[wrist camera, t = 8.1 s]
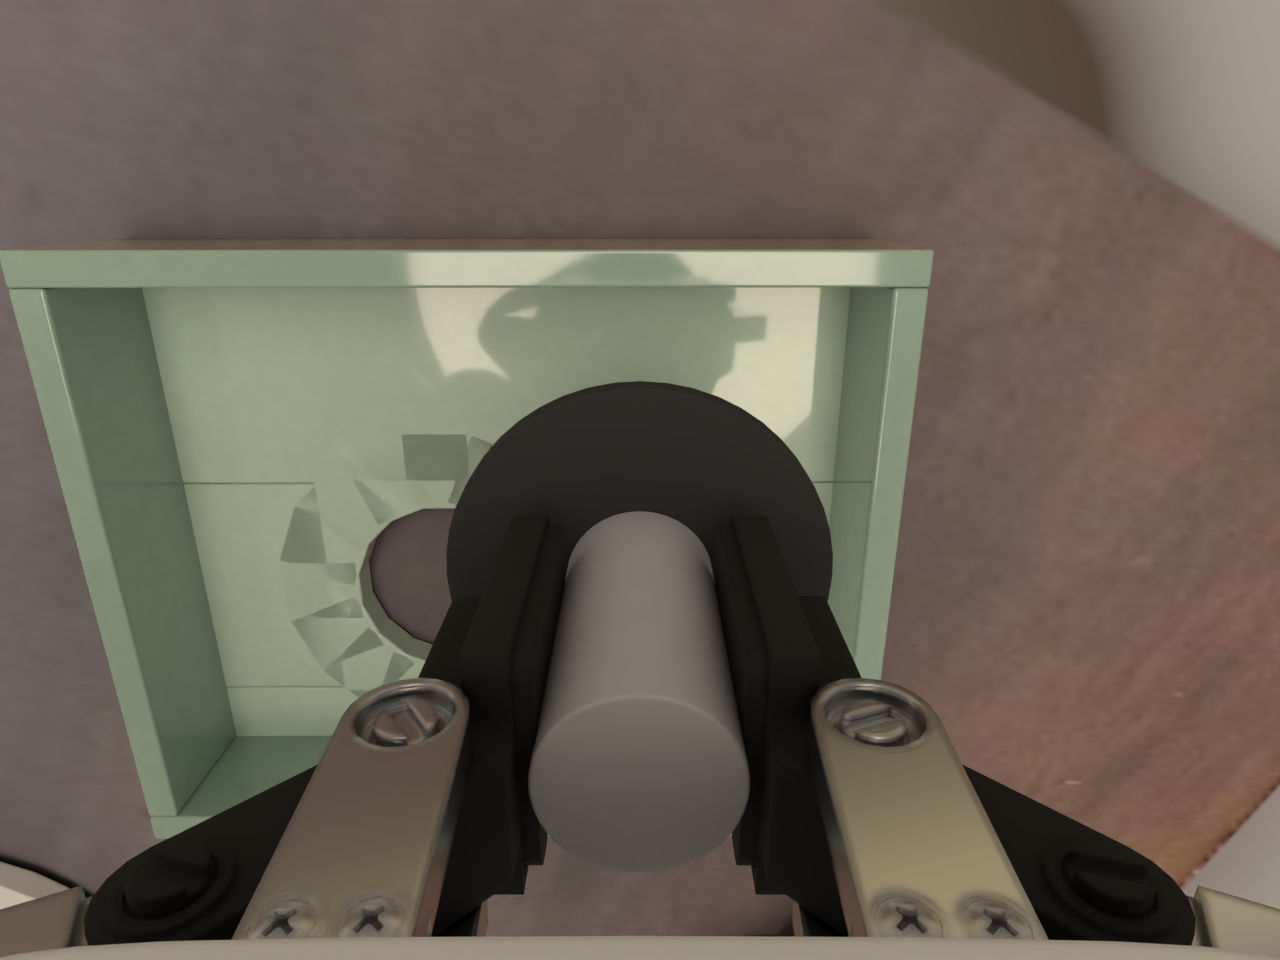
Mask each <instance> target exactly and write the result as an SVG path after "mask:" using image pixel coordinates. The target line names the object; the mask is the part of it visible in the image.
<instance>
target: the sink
mask: <svg viewBox="0 0 1280 960" xmlns="http://www.w3.org/2000/svg"><path fill="white" fill-rule="evenodd" d="M302 239H470V238H302ZM873 239H874V238H873ZM933 254H934V252H933V250H931V249H927V248H922V247H916V246H911V245H906V244H901V243H895V242H890V241H885V240H880V239H878V240H164V239H163V240H145V239H144V240H133V239H132V240H121V239H120V240H119V239H117V240H116V239H115V240H104V241H93V242H81V243H70V244H59V245H48V246H37V247H26V248H15V249H3V250H0V263H1V267H2V270H3V274H4V278H5V281H6V285H7V287H9V288H12V289H10V290H9V295H10V298H11V302H12V306H13V309H14V313H15V317H16V321H17V324H18V328H19V332H20V335H21V339H22V343H23V347H24V350H25V354H26V358H27V362H28V365H29V369H30V373H31V376H32V380H33V384H34V388H35V391H36V395H37V399H38V403H39V406H40V410H41V414H42V417H43V421H44V425H45V429H46V432H47V436H48V440H49V444H50V447H51V451H52V455H53V458H54V462H55V466H56V470H57V473H58V477H59V481H60V484H61V488H62V492H63V496H64V499H65V503H66V507H67V511H68V514H69V518H70V522H71V525H72V529H73V533H74V537H75V540H76V544H77V548H78V552H79V555H80V559H81V563H82V566H83V570H84V574H85V578H86V581H87V585H88V589H89V593H90V596H91V600H92V604H93V607H94V611H95V615H96V619H97V622H98V626H99V630H100V633H101V637H102V641H103V645H104V648H105V652H106V656H107V660H108V663H109V667H110V671H111V674H112V678H113V682H114V686H115V689H116V693H117V697H118V701H119V704H120V708H121V712H122V715H123V719H124V723H125V727H126V730H127V734H128V738H129V742H130V745H131V749H132V753H133V756H134V760H135V764H136V768H137V771H138V775H139V779H140V782H141V786H142V790H143V794H144V797H145V801H146V805H147V809H148V812H149V815H150V816H151V818H150V820H151V824H152V828H153V831H154V835H155V838H157V839H169V838H171V837H173V836H175V835H177V834H179V833H181V832H183V831H185V830H187V829H189V828H191V827H193V826H195V825H197V824H199V823H201V822H203V821H205V820H207V819H209V818H211V817H213V816H215V815H217V814H219V813H221V812H223V811H225V810H227V809H229V808H231V807H233V806H235V805H237V804H239V803H241V802H243V801H245V800H247V799H249V798H251V797H253V796H255V795H257V794H259V793H261V792H263V791H265V790H267V789H269V788H271V787H273V786H275V785H277V784H279V783H281V782H283V781H285V780H287V779H289V778H291V777H293V776H295V775H297V774H299V773H301V772H303V771H305V770H308V769H310V768H312V767H314V766H316V765H318V763H319V761H320V759H321V757H322V755H323V753H324V751H325V749H326V747H327V745H328V743H329V741H330V739H331V737H332V736H236V730H235V725H234V721H233V716H232V711H231V706H230V702H229V697H228V692H227V688H228V687H227V686H226V683H225V678H224V673H223V668H222V664H221V659H220V654H219V650H218V645H217V640H216V635H215V631H214V626H213V621H212V616H211V612H210V607H209V602H208V598H207V593H206V588H205V583H204V579H203V574H202V569H201V564H200V560H199V555H198V550H197V546H196V541H195V536H194V531H193V527H192V522H191V517H190V512H189V508H188V503H187V498H186V494H185V489H184V485H185V483H184V482H183V479H182V475H181V470H180V465H179V460H178V456H177V451H176V446H175V441H174V437H173V432H172V427H171V423H170V418H169V413H168V408H167V404H166V399H165V394H164V389H163V385H162V380H161V375H160V371H159V366H158V361H157V356H156V352H155V347H154V342H153V337H152V333H151V328H150V323H149V319H148V314H147V309H146V304H145V300H144V295H143V290H142V288H851V289H850V300H849V312H848V323H847V334H846V345H845V356H844V368H843V379H842V390H841V401H840V412H839V423H838V435H837V446H836V457H835V468H834V479H833V491H832V502H831V513H830V524H829V528H830V533H831V542H832V550H833V570H832V581H831V587H830V592H829V598H828V601H827V602H828V604H829V607H830V609H831V611H832V613H833V615H834V618H835V620H836V622H837V624H838V626H839V629H840V631H841V633H842V635H843V638H844V640H845V642H846V644H847V646H848V649H849V651H850V653H851V655H852V657H853V660H854V662H855V664H856V666H857V669H858V671H859V673H860V675H861V677H862V678H867V679H876V680H881V674H882V666H883V658H884V650H885V641H886V633H887V625H888V617H889V609H890V601H891V592H892V584H893V576H894V568H895V560H896V552H897V544H898V535H899V527H900V519H901V511H902V503H903V495H904V486H905V478H906V470H907V462H908V454H909V446H910V438H911V429H912V421H913V413H914V405H915V397H916V389H917V380H918V372H919V364H920V356H921V348H922V340H923V332H924V323H925V315H926V307H927V299H928V289H927V288H925V287H929V285H930V279H931V271H932V262H933ZM729 836H732V833H731V834H730V835H729ZM548 837H550V836H549V835H548Z"/></svg>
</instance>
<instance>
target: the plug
mask: <svg viewBox="0 0 1280 960" xmlns="http://www.w3.org/2000/svg"><path fill="white" fill-rule="evenodd" d="M513 516H549V520H550V525H562V528H563V546H564V573H565V586H564V591H563V597H562V602H561V607H560V612H559V618H558V623H557V628H556V634H555V639H554V644H553V650H552V655H551V660H550V666H549V671H548V676H547V681H546V687H545V692H544V697H543V703H542V708H541V713H540V719H539V724H538V729H537V735H536V740H535V745H534V748H533V752H532V757H531V762H530V767H529V773H528V791H529V798H530V801H531V804H532V807H533V810H534V812H535V814H536V817H537V819H538V821H539V822H540V824H541V825H542V827H543V828H544V830H545V831H546V832H547V834H548V835H549V836H550V837H551V838H552V839H553V840H554V841H555V842H556V843H557V844H558V845H560V846H561V847H562V848H563V849H564V850H566V851H568V852H569V853H571V854H572V855H574V856H575V857H577V858H579V859H581V860H583V861H585V862H588V863H590V864H593V865H595V866H598V867H602V868H606V869H609V870H614V871H621V872H632V873H647V872H658V871H664V870H669V869H673V868H677V867H680V866H683V865H686V864H688V863H691V862H693V861H695V860H697V859H699V858H701V857H703V856H705V855H706V854H708V853H709V852H711V851H713V850H714V849H715V848H716V847H718V846H719V845H720V844H721V843H722V842H724V841H725V839H726V838H727V837H728V836H729V835H730V834H731V833H732V832H733V830H734V829H735V827H736V826H737V824H738V823H739V821H740V819H741V817H742V815H743V813H744V811H745V808H746V805H747V802H748V799H749V793H750V772H749V766H748V761H747V755H746V751H745V746H744V741H743V735H742V730H741V724H740V719H739V714H738V708H737V703H736V697H735V692H734V687H733V681H732V676H731V670H730V665H729V660H728V654H727V649H726V643H725V638H724V633H723V627H722V622H721V616H720V611H719V606H718V600H717V595H716V589H715V563H716V536H717V526H718V525H730V518H731V516H767V518H768V520H769V523H770V525H771V528H772V530H773V533H774V536H775V538H776V541H777V543H778V546H779V549H780V551H781V554H782V556H783V559H784V562H785V564H786V567H787V569H788V572H789V574H790V577H791V580H792V582H793V585H794V587H795V590H796V593H797V595H798V596H824V597H825V599H826V600H827V601H828V598H829V592H830V587H831V581H832V570H833V550H832V542H831V533H830V528H829V524H828V521H827V517H826V514H825V510H824V507H823V505H822V502H821V500H820V498H819V496H818V493H817V491H816V489H815V486H814V485H813V483H812V481H811V479H810V478H809V476H808V474H807V473H806V471H805V470H804V468H803V467H802V465H801V463H800V462H799V460H798V459H797V457H796V456H795V455H794V454H793V452H792V451H791V450H790V449H789V448H788V446H787V445H786V444H785V443H784V442H783V440H782V439H781V438H780V437H778V436H777V435H776V434H775V433H774V432H773V431H772V430H771V429H770V428H768V427H767V426H766V425H765V424H764V423H763V422H761V421H760V420H758V419H757V418H755V417H754V416H753V415H751V414H750V413H748V412H747V411H745V410H744V409H742V408H740V407H738V406H736V405H734V404H732V403H730V402H728V401H726V400H724V399H722V398H720V397H718V396H715V395H712V394H709V393H706V392H703V391H700V390H697V389H694V388H690V387H685V386H680V385H675V384H670V383H661V382H647V381H633V382H617V383H610V384H604V385H599V386H594V387H589V388H585V389H582V390H579V391H576V392H573V393H570V394H567V395H564V396H562V397H559V398H557V399H555V400H553V401H551V402H549V403H547V404H545V405H543V406H541V407H539V408H537V409H536V410H534V411H533V412H531V413H530V414H528V415H527V416H525V417H524V418H522V419H521V420H519V421H518V422H517V423H516V424H514V425H513V426H512V427H511V428H510V429H509V430H508V431H507V432H505V433H504V434H503V435H502V436H501V437H500V438H499V439H498V440H497V441H496V442H495V443H494V445H493V446H492V447H491V448H490V449H489V450H488V452H487V453H486V454H485V455H484V456H483V458H482V459H481V461H480V463H479V464H478V466H477V467H476V469H475V470H474V472H473V474H472V475H471V477H470V478H469V480H468V482H467V484H466V485H465V488H464V490H463V492H462V494H461V497H460V499H459V501H458V503H457V505H456V508H455V512H454V515H453V519H452V522H451V526H450V530H449V538H448V545H447V577H448V583H449V589H450V595H451V599H452V601H453V600H454V598H455V597H456V596H482V594H483V592H484V589H485V586H486V584H487V581H488V579H489V576H490V573H491V571H492V568H493V566H494V563H495V560H496V558H497V555H498V553H499V550H500V547H501V545H502V542H503V540H504V537H505V535H506V532H507V529H508V527H509V524H510V522H511V519H512V517H513Z"/></svg>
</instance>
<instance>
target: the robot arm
mask: <svg viewBox="0 0 1280 960" xmlns="http://www.w3.org/2000/svg"><path fill="white" fill-rule="evenodd" d="M564 586H565V573H564V546H563V528H562V525H550V520H549V516H513V517H512V519H511V522H510V524H509V527H508V529H507V532H506V535H505V537H504V540H503V542H502V545H501V547H500V550H499V553H498V555H497V558H496V560H495V563H494V566H493V568H492V571H491V573H490V576H489V579H488V581H487V584H486V586H485V589H484V592H483V594H482V596H456V597H455V598H454V600H453V601H452V603H451V606H450V608H449V610H448V612H447V615H446V617H445V619H444V621H443V623H442V626H441V628H440V630H439V632H438V634H437V637H436V639H435V641H434V643H433V646H432V648H431V650H430V652H429V654H428V657H427V659H426V661H425V663H424V665H423V668H422V670H421V672H420V674H419V677H418V678H413V679H404V680H398V681H395V682H391V683H388V684H384V685H381V686H379V687H377V688H375V689H373V690H371V691H369V692H367V693H365V694H363V695H362V696H361V697H359V698H358V699H357V700H355V701H354V702H353V703H352V704H350V706H349V707H348V709H347V710H346V711H345V713H344V714H343V715H342V717H341V719H340V721H339V723H338V725H337V727H336V729H335V731H334V733H333V735H332V737H331V739H330V741H329V743H328V745H327V747H326V749H325V751H324V753H323V755H322V757H321V759H320V761H319V763H318V765H316V766H314V767H312V768H310V769H308V770H305V771H303V772H301V773H299V774H297V775H295V776H293V777H291V778H289V779H287V780H285V781H283V782H281V783H279V784H277V785H275V786H273V787H271V788H269V789H267V790H265V791H263V792H261V793H259V794H257V795H255V796H253V797H251V798H249V799H247V800H245V801H243V802H241V803H239V804H237V805H235V806H233V807H231V808H229V809H227V810H225V811H223V812H221V813H219V814H217V815H215V816H213V817H211V818H209V819H207V820H205V821H203V822H201V823H199V824H197V825H195V826H193V827H191V828H189V829H187V830H185V831H183V832H181V833H179V834H177V835H175V836H173V837H171V838H169V839H167V840H165V841H163V842H160V843H158V844H156V845H154V846H152V847H150V848H149V849H147V850H145V851H144V852H142V853H140V854H139V855H137V856H135V857H134V858H132V859H130V860H129V861H127V862H126V863H125V864H124V865H122V866H121V867H120V868H119V869H118V870H117V871H115V872H114V873H113V874H112V875H111V876H110V877H108V878H107V879H106V880H105V882H104V883H103V884H102V886H101V887H100V888H99V889H98V891H97V892H96V893H95V895H94V896H90V897H87V898H86V897H85V894H84V891H83V888H82V885H81V886H78V887H74V888H71V889H70V888H68V887H67V886H65V885H62V884H60V883H58V882H56V881H54V880H51V879H49V878H47V877H45V876H43V875H40V874H38V873H36V872H34V871H30V870H27V869H24V868H21V867H17V866H14V865H11V864H8V863H4V862H1V861H0V960H1280V909H1276V908H1273V907H1270V906H1266V905H1263V904H1259V903H1256V902H1253V901H1249V900H1246V899H1243V898H1239V897H1236V896H1232V895H1229V894H1226V893H1222V892H1219V891H1216V890H1212V889H1209V888H1205V887H1202V886H1199V885H1198V887H1197V890H1196V893H1195V896H1194V898H1193V897H1189V896H1186V895H1185V894H1184V893H1183V891H1182V890H1181V889H1180V887H1179V886H1178V885H1177V884H1176V882H1175V881H1174V880H1173V879H1172V878H1171V877H1170V876H1169V875H1168V874H1167V873H1165V872H1164V871H1163V870H1162V869H1161V868H1160V867H1158V866H1157V865H1156V864H1155V863H1154V862H1152V861H1151V860H1149V859H1147V858H1146V857H1144V856H1142V855H1141V854H1139V853H1137V852H1136V851H1134V850H1132V849H1131V848H1129V847H1127V846H1125V845H1123V844H1121V843H1119V842H1117V841H1115V840H1113V839H1111V838H1109V837H1107V836H1105V835H1103V834H1101V833H1099V832H1097V831H1095V830H1093V829H1091V828H1089V827H1087V826H1085V825H1083V824H1081V823H1079V822H1077V821H1075V820H1073V819H1071V818H1069V817H1067V816H1065V815H1063V814H1061V813H1059V812H1057V811H1055V810H1053V809H1051V808H1049V807H1047V806H1045V805H1043V804H1041V803H1039V802H1037V801H1035V800H1033V799H1030V798H1028V797H1026V796H1024V795H1022V794H1020V793H1018V792H1016V791H1014V790H1012V789H1010V788H1008V787H1006V786H1004V785H1002V784H1000V783H998V782H996V781H994V780H992V779H990V778H988V777H986V776H984V775H982V774H980V773H978V772H976V771H974V770H972V769H970V768H968V767H966V766H964V765H962V763H961V761H960V759H959V757H958V755H957V753H956V751H955V749H954V747H953V745H952V743H951V741H950V739H949V737H948V735H947V733H946V731H945V729H944V727H943V725H942V723H941V721H940V719H939V717H938V715H937V714H936V713H935V711H934V710H933V709H932V707H931V706H930V704H928V703H927V702H926V701H925V700H923V699H922V698H921V697H919V696H918V695H917V694H915V693H913V692H911V691H909V690H907V689H905V688H903V687H901V686H899V685H896V684H892V683H889V682H885V681H882V680H876V679H867V678H862V677H861V675H860V673H859V671H858V669H857V666H856V664H855V662H854V660H853V657H852V655H851V653H850V651H849V649H848V646H847V644H846V642H845V640H844V638H843V635H842V633H841V631H840V629H839V626H838V624H837V622H836V620H835V618H834V615H833V613H832V611H831V609H830V607H829V604H828V602H827V600H826V599H825V597H824V596H798V595H797V593H796V590H795V587H794V585H793V582H792V580H791V577H790V574H789V572H788V569H787V567H786V564H785V562H784V559H783V556H782V554H781V551H780V549H779V546H778V543H777V541H776V538H775V536H774V533H773V530H772V528H771V525H770V523H769V520H768V518H767V516H731V518H730V525H718V526H717V536H716V563H715V589H716V595H717V600H718V606H719V611H720V616H721V622H722V627H723V633H724V638H725V643H726V649H727V654H728V660H729V665H730V670H731V676H732V681H733V687H734V692H735V697H736V703H737V708H738V714H739V719H740V724H741V730H742V735H743V741H744V746H745V751H746V755H747V761H748V766H749V772H750V793H749V799H748V802H747V805H746V808H745V811H744V813H743V815H742V817H741V819H740V821H739V823H738V824H737V826H736V827H735V829H734V830H733V832H732V839H733V846H734V853H735V860H736V864H737V865H751V867H752V873H753V879H754V886H755V892H756V894H786V895H787V896H789V897H790V898H791V899H793V915H792V923H793V929H794V936H795V937H772V936H508V937H485V936H486V929H487V923H488V915H487V899H488V898H489V897H491V896H492V895H494V894H524V889H525V883H526V877H527V871H528V865H543V863H544V858H545V851H546V844H547V837H548V834H547V832H546V831H545V830H544V828H543V827H542V825H541V824H540V822H539V821H538V819H537V817H536V814H535V812H534V810H533V807H532V804H531V801H530V798H529V791H528V773H529V767H530V762H531V757H532V752H533V748H534V745H535V740H536V735H537V729H538V724H539V719H540V713H541V708H542V703H543V697H544V692H545V687H546V681H547V676H548V671H549V666H550V660H551V655H552V650H553V644H554V639H555V634H556V628H557V623H558V618H559V612H560V607H561V602H562V597H563V591H564Z"/></svg>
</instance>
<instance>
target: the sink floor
mask: <svg viewBox="0 0 1280 960" xmlns="http://www.w3.org/2000/svg"><path fill="white" fill-rule="evenodd" d="M116 240H117V239H116ZM119 240H120V239H119ZM121 240H132V239H121ZM133 240H144V239H133ZM145 240H163V239H145ZM164 240H878V239H873V238H470V239H164ZM850 289H851V288H142V290H143V295H144V300H145V304H146V309H147V314H148V319H149V323H150V328H151V333H152V337H153V342H154V347H155V352H156V356H157V361H158V366H159V371H160V375H161V380H162V385H163V389H164V394H165V399H166V404H167V408H168V413H169V418H170V423H171V427H172V432H173V437H174V441H175V446H176V451H177V456H178V460H179V465H180V470H181V475H182V479H183V482H184V483H185V485H184V489H185V494H186V498H187V503H188V508H189V512H190V517H191V522H192V527H193V531H194V536H195V541H196V546H197V550H198V555H199V560H200V564H201V569H202V574H203V579H204V583H205V588H206V593H207V598H208V602H209V607H210V612H211V616H212V621H213V626H214V631H215V635H216V640H217V645H218V650H219V654H220V659H221V664H222V668H223V673H224V678H225V683H226V686H227V687H228V688H227V692H228V697H229V702H230V706H231V711H232V716H233V721H234V725H235V730H236V736H332V735H333V733H334V731H335V729H336V727H337V725H338V723H339V721H340V719H341V717H342V715H343V714H344V713H345V711H346V710H347V709H348V707H349V706H350V704H352V703H353V702H354V701H355V700H357V699H358V698H359V697H361V696H362V695H363V694H365V693H367V692H369V691H371V690H373V689H375V688H377V687H379V686H381V685H384V684H388V683H391V682H395V681H398V680H404V679H413V678H418V677H419V674H420V672H421V670H422V668H423V665H424V663H425V661H426V659H427V657H428V654H429V652H430V650H431V648H432V646H433V644H430V643H427V642H424V641H421V640H418V639H416V638H414V637H412V636H411V635H410V634H409V633H407V632H406V631H405V630H403V629H402V628H401V627H400V626H398V625H397V624H396V623H395V622H393V621H392V620H391V619H390V618H388V616H387V614H386V613H385V611H384V609H383V608H382V606H381V604H380V603H379V601H378V599H377V598H376V596H375V594H374V593H373V589H372V581H371V573H370V565H369V560H370V557H371V554H372V551H373V548H374V545H375V542H376V539H377V536H378V535H379V534H380V533H381V532H382V531H383V530H384V529H385V528H386V527H387V526H388V525H389V524H390V523H391V522H392V521H394V520H397V519H399V518H401V517H404V516H406V515H409V514H411V513H414V512H416V511H419V510H421V509H455V508H456V505H457V503H458V501H459V499H460V497H461V494H462V492H463V490H464V488H465V485H466V484H467V482H468V480H469V478H470V477H471V475H472V474H473V472H474V470H475V469H476V467H477V466H478V464H479V463H480V461H481V459H482V458H483V456H484V455H485V454H486V453H487V452H488V450H489V449H490V448H491V447H492V446H493V445H494V443H495V442H496V441H497V440H498V439H499V438H500V437H501V436H502V435H503V434H504V433H505V432H507V431H508V430H509V429H510V428H511V427H512V426H513V425H514V424H516V423H517V422H518V421H519V420H521V419H522V418H524V417H525V416H527V415H528V414H530V413H531V412H533V411H534V410H536V409H537V408H539V407H541V406H543V405H545V404H547V403H549V402H551V401H553V400H555V399H557V398H559V397H562V396H564V395H567V394H570V393H573V392H576V391H579V390H582V389H585V388H589V387H594V386H599V385H604V384H610V383H617V382H633V381H647V382H661V383H670V384H675V385H680V386H685V387H690V388H694V389H697V390H700V391H703V392H706V393H709V394H712V395H715V396H718V397H720V398H722V399H724V400H726V401H728V402H730V403H732V404H734V405H736V406H738V407H740V408H742V409H744V410H745V411H747V412H748V413H750V414H751V415H753V416H754V417H755V418H757V419H758V420H760V421H761V422H763V423H764V424H765V425H766V426H767V427H768V428H770V429H771V430H772V431H773V432H774V433H775V434H776V435H777V436H778V437H780V438H781V439H782V440H783V442H784V443H785V444H786V445H787V446H788V448H789V449H790V450H791V451H792V452H793V454H794V455H795V456H796V457H797V459H798V460H799V462H800V463H801V465H802V467H803V468H804V470H805V471H806V473H807V474H808V476H809V478H810V479H811V481H812V483H813V485H814V486H815V489H816V491H817V493H818V496H819V498H820V500H821V502H822V505H823V507H824V510H825V514H826V517H827V521H828V524H830V513H831V502H832V491H833V479H834V468H835V457H836V446H837V435H838V423H839V412H840V401H841V390H842V379H843V368H844V356H845V345H846V334H847V323H848V312H849V300H850Z"/></svg>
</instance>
